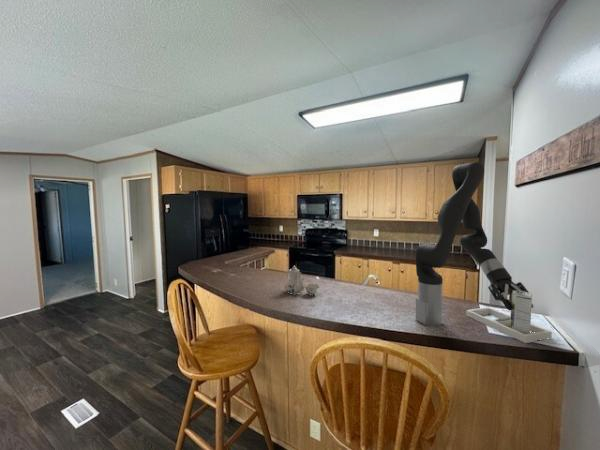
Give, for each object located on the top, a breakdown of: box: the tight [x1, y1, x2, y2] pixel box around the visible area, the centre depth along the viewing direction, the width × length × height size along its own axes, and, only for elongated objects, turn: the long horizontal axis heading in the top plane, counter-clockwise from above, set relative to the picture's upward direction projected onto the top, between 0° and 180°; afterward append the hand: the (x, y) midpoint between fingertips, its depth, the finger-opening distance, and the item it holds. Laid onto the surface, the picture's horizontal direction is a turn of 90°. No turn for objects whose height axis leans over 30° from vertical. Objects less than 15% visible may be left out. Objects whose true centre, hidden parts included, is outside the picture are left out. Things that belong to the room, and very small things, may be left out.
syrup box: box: [510, 290, 533, 334], centre depth 97 cm, size 6×6×14 cm
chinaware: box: [285, 265, 320, 297], centre depth 151 cm, size 28×17×17 cm, turn 34°
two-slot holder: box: [465, 306, 553, 344], centre depth 103 cm, size 12×24×3 cm, turn 13°
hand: (521, 308), depth 97 cm, fingers closed on syrup box, 8 cm apart
